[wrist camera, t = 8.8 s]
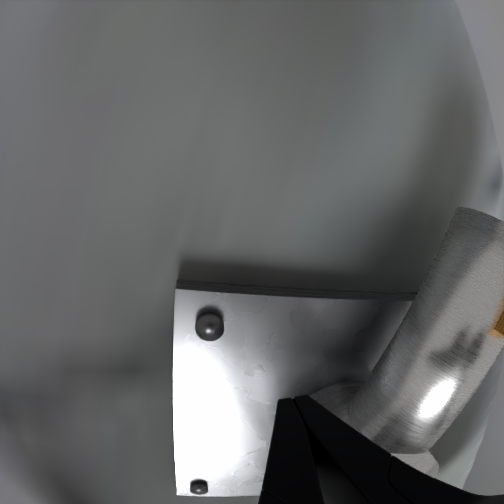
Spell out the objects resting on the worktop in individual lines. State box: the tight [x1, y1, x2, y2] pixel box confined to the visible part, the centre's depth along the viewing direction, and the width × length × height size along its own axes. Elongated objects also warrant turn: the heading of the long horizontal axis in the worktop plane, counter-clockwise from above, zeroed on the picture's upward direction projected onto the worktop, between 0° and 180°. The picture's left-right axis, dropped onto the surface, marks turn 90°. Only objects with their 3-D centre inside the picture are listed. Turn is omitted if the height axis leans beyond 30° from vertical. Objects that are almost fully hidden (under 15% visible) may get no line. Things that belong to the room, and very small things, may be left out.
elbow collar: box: [310, 207, 504, 478], centre depth 12 cm, size 16×7×6 cm, turn 156°
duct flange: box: [173, 280, 417, 496], centre depth 16 cm, size 16×18×3 cm
